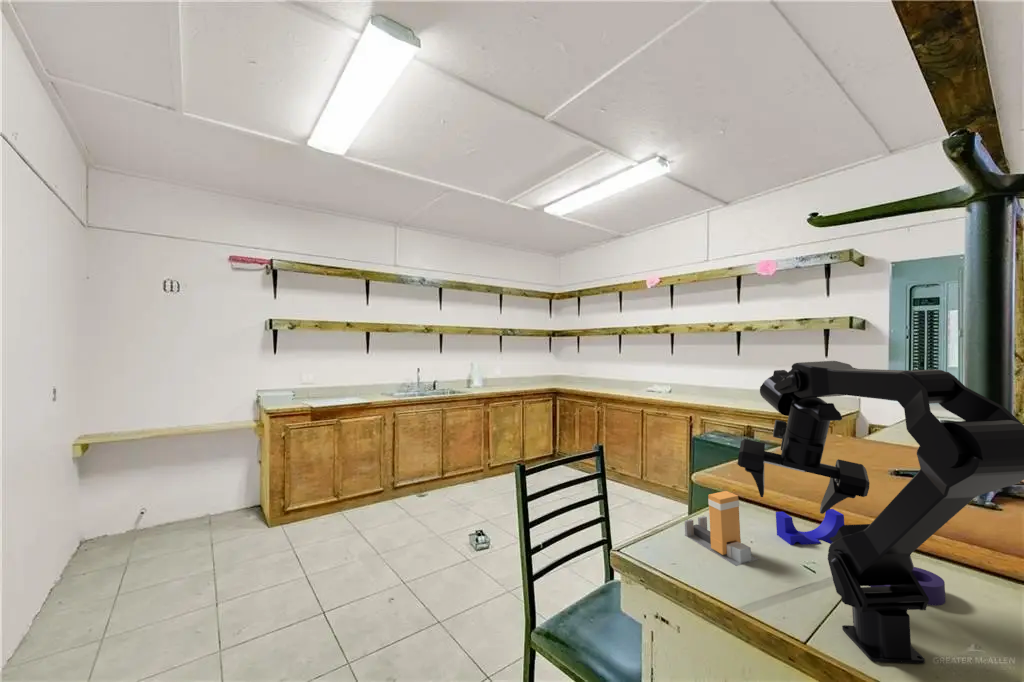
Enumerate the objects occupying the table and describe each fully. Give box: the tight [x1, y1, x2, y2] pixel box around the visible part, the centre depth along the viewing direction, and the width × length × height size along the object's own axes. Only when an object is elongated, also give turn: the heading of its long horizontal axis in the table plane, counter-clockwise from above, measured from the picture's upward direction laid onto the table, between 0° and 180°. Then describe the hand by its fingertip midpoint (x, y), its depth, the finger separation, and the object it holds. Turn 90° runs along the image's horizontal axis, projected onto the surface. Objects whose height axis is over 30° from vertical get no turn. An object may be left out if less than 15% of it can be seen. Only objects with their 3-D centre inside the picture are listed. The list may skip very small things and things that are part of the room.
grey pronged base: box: [684, 515, 759, 567], centre depth 86 cm, size 14×5×4 cm, turn 19°
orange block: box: [707, 490, 742, 555], centre depth 85 cm, size 3×5×11 cm
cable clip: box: [775, 508, 845, 546], centre depth 88 cm, size 12×4×6 cm, turn 90°
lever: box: [869, 566, 947, 607], centre depth 72 cm, size 12×6×3 cm, turn 47°
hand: (790, 503), depth 78 cm, fingers open, 9 cm apart
